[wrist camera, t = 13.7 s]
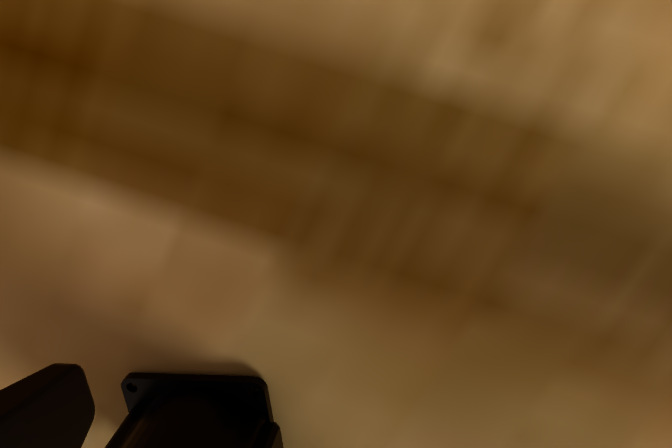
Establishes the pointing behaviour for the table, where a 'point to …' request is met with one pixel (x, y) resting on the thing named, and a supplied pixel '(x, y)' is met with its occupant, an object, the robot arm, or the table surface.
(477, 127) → the table surface
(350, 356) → the table surface
